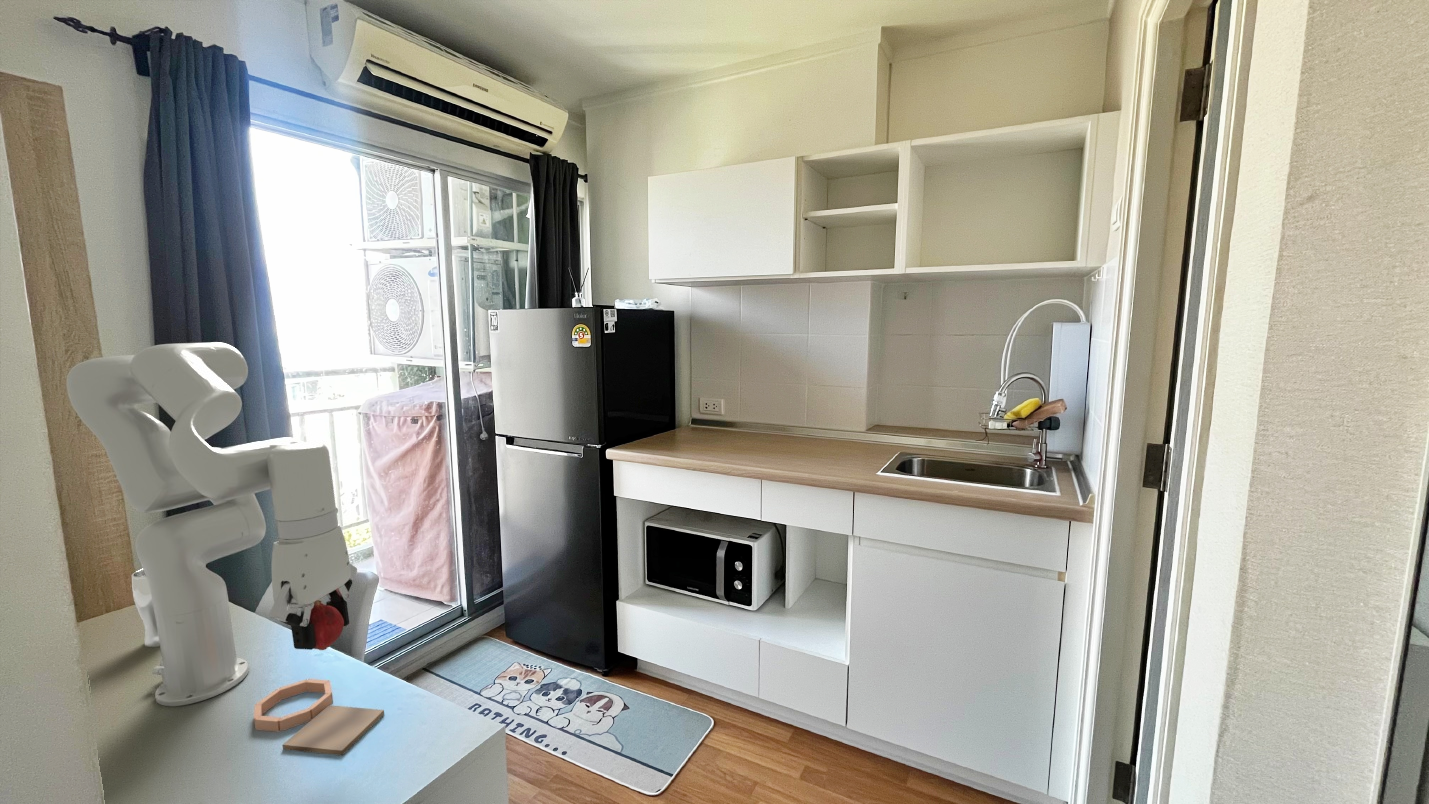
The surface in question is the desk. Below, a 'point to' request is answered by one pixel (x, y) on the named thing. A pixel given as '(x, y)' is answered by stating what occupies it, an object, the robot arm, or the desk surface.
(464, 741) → the desk surface
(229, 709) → the desk surface
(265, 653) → the desk surface
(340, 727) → the board
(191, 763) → the desk surface
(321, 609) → the onion
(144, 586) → the beer glass
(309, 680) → the ring holder
